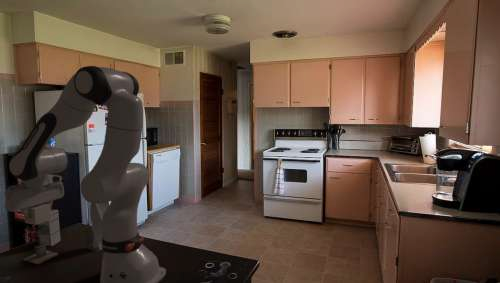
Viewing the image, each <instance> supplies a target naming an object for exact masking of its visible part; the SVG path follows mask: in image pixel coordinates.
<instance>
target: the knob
mask: <svg viewBox="0 0 500 283" xmlns="http://www.w3.org/2000/svg"><path fill="white" fill-rule="evenodd" d="M51 210H52V207H51V208H50V204H47V203H42V204H39V205H35V206H32V207H28V210H27V213H29V214H31V218H30V219H24V222H25V224H30V225H35V226H38V224H40V223H43V222H46V221H49V220H51Z"/></svg>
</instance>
